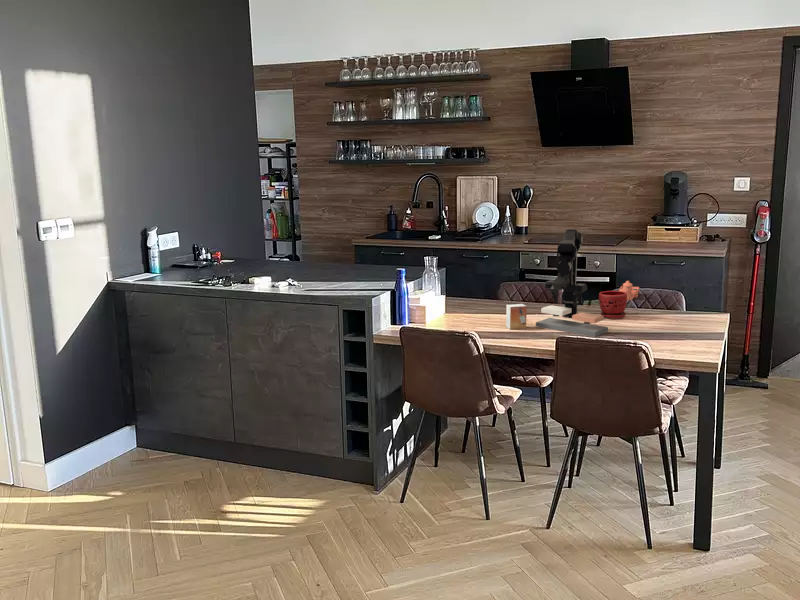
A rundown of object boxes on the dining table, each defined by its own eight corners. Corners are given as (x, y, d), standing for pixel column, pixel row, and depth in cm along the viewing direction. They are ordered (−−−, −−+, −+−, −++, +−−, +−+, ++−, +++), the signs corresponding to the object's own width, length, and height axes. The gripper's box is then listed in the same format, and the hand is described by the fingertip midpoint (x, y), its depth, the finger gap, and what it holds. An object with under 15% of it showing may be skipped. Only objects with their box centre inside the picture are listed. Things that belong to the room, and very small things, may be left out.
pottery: (621, 293, 434) (621, 275, 432) (638, 294, 431) (639, 276, 429) (616, 299, 418) (617, 281, 416) (635, 300, 415) (636, 282, 413)
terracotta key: (581, 319, 357) (581, 312, 356) (603, 323, 350) (603, 315, 349) (571, 323, 351) (572, 315, 351) (594, 326, 344) (594, 318, 343)
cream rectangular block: (550, 312, 367) (550, 305, 367) (571, 315, 360) (571, 308, 359) (541, 315, 362) (541, 308, 361) (562, 319, 354) (562, 311, 354)
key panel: (549, 321, 371) (549, 317, 370) (608, 331, 351) (608, 327, 351) (535, 326, 362) (535, 322, 362) (594, 336, 342) (595, 332, 342)
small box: (509, 329, 358) (510, 306, 355) (505, 326, 363) (506, 304, 361) (526, 328, 359) (527, 305, 357) (522, 325, 364) (522, 303, 362)
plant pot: (622, 313, 385) (623, 289, 382) (629, 320, 372) (630, 295, 369) (595, 314, 385) (596, 290, 383) (601, 320, 372) (602, 295, 370)
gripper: (538, 271, 354) (537, 305, 357) (576, 275, 342) (575, 310, 345) (551, 267, 362) (550, 300, 365) (588, 271, 350) (587, 306, 353)
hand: (565, 304), depth 357 cm, fingers open, 9 cm apart
